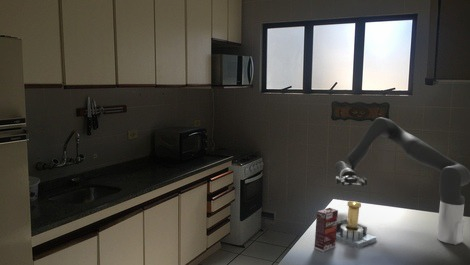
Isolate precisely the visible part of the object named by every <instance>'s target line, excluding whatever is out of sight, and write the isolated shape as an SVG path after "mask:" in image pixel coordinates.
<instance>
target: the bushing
mask: <svg viewBox="0 0 470 265" xmlns="http://www.w3.org/2000/svg"><path fill="white" fill-rule="evenodd" d="M346 205H347V207H348V208H347V210H348V212H347V218H346V220H347V229H349V230H357V226H358V224H359V214H360V209H361V206H362V203H361V202H358V201H352V200H349V201H347V204H346Z"/></svg>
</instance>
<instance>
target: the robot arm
mask: <svg viewBox="0 0 470 265" xmlns="http://www.w3.org/2000/svg"><path fill="white" fill-rule="evenodd" d="M379 137H383V138H386V139H389V140H391V141H392V142H393V143H395V144H396V145H398V146H399V148H400V149H401V150H402V151H403V153H404V154H406V156H408V157H409V158H411V159H412V160H414V161H416V162H417V163H419V164H421V165H423V166H426V167H429V168H432V169H434V170H436V171H439V172H440V174H439V175H440V176H439V184H438V185H439V186H438V188H439V189H438V193H439V194H438V195H439V197H440V199H439V200H440V201H439V202H440V203H439V209H438V212H439V213H438V220H437V221H438V222H437V232H436V239H437V240H438V241H440V242H442V243H446V244H449V245H450V244H452V245H455V246H457V245H459V244H461V243H463V240H464V239H463V238H464V229H465V220H464V212H465V211H464V210H465V209H464V208H465V197H464V195H462V194H461V190H462V189H461V188H462V187H463V186H466V185H468V184H469V183H470V170H469V169H468V168H467V167H466V166H464V165H462V164H461V163H460V162H457V161H455V160H453V159H451V158H449V157H447V156H446V155H444V154H443V153H441V152H440V151H438V150H436V149H435V148H434V147H432V146H430V145H429V144H428V143H426V142H425V141H423V140H422V139H420V138H418V137H417V136H414V135H413V134H411V133H409V132H407V131H405V130H404V129H403V128H401V127H400V126H399V125H398V124H397V123H395V122H394V121H393V120H391V119H390V118H386V117H377V118H375V119H374V120H373V121H372V122H371V124H370V125H369V127H368V128H367V130H366V132H365V133H364V135H363V137H362V138H361V140H360V141H359V142H358V144H357V145H356V146H355V147H354V148H353V149H352V151H350V153H349V154H347V157H346V160H347V162H348V163H349V164H350V165H351V166H350V165H349V164H348V163H346V162H345V161H342V160H339V161H337V162H336V163H335V164H334V168H333V170H334V172H335V173H336V174H337V175H336V176H335V184H336V185H339V184H340V185H342V186H343V187H345V186H348V187H352V186H354V185H355V186H357V185H358V186H359V185H360V186H361V187H362V188H364V187H365V186H367V185H368V179H367V177H365V176H362V177H359V176H358V174H357V173H356V172H355V171H356V169H357V168H358V166H359V165H360V163H361V162H362V161H363V160H364V159H365V158H366V156H367V155H368V153H369V151H370V148H371V146H372V144H373V143H374V142H375V140H377V138H379Z"/></svg>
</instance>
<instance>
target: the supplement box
mask: <svg viewBox="0 0 470 265" xmlns="http://www.w3.org/2000/svg"><path fill="white" fill-rule="evenodd" d="M338 214H339V210H338V209H335V208H332V207H328V208H324V209H321V210H317V211H316V219H315V220H316V221H315V222H316V223H315V231H314V232H315V233H314V234H315V236H314V247H313V248H314V249H315V250H317V251H320V252H323V253H324V252H327V251H328V250H331V249H333V248H336V245H337V244H336V242H337V240H336V231H337V222H338Z"/></svg>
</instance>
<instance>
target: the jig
mask: <svg viewBox="0 0 470 265" xmlns="http://www.w3.org/2000/svg"><path fill="white" fill-rule="evenodd" d="M367 229H368V226H366V225H362V224H360V223H358V226H357V230H349V229H347V219H344V220H341V221H337V231H336V241H338V242H340V243H343V244H345V245H347V246H350V247H353V248H354V249H359V248H362V247H365V246H368V245H371V244H374V243H377V237H376V236H375V235H371V234H369V233H367Z"/></svg>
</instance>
